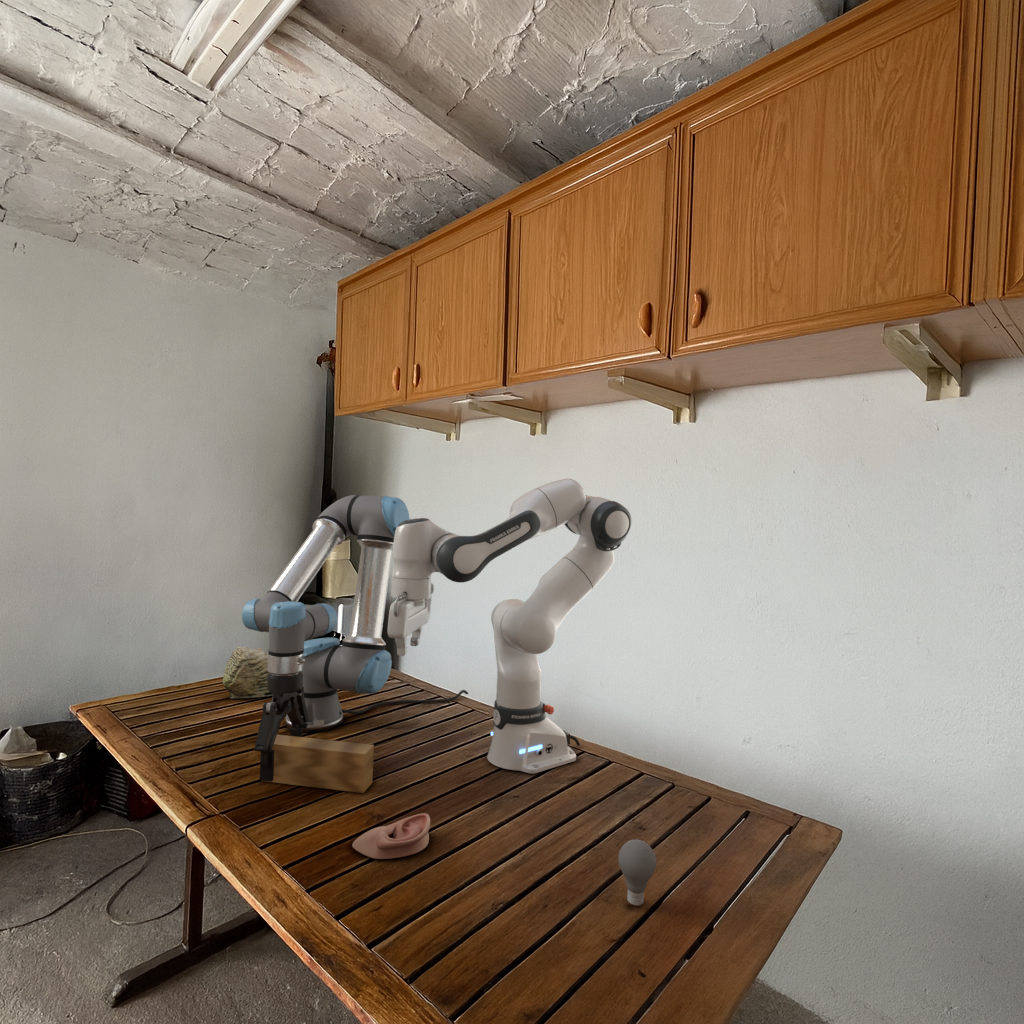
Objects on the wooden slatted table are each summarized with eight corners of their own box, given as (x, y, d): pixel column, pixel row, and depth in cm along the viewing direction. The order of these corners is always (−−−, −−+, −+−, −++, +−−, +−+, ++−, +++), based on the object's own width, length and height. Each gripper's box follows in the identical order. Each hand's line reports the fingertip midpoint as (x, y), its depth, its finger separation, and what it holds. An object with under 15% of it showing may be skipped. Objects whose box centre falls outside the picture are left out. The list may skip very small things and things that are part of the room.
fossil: (218, 695, 195) (220, 647, 195) (278, 685, 208) (279, 640, 207) (228, 703, 189) (230, 653, 188) (289, 692, 201) (290, 645, 201)
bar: (261, 781, 140) (263, 742, 140) (274, 771, 145) (275, 734, 145) (363, 793, 136) (364, 754, 136) (372, 782, 142) (374, 744, 141)
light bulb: (612, 891, 105) (615, 832, 105) (647, 891, 106) (650, 832, 105) (621, 915, 99) (624, 852, 99) (659, 914, 100) (662, 852, 99)
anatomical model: (345, 832, 112) (372, 802, 124) (344, 854, 113) (371, 822, 124) (415, 843, 110) (436, 812, 121) (414, 866, 110) (436, 832, 121)
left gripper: (272, 689, 129) (268, 794, 129) (325, 660, 153) (321, 749, 153) (238, 685, 130) (234, 790, 130) (296, 657, 154) (292, 746, 154)
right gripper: (410, 597, 133) (407, 662, 133) (436, 584, 153) (434, 641, 153) (381, 595, 134) (378, 660, 134) (411, 583, 154) (408, 639, 154)
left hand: (281, 768), depth 142 cm, fingers open, 12 cm apart
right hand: (408, 650), depth 144 cm, fingers open, 8 cm apart
